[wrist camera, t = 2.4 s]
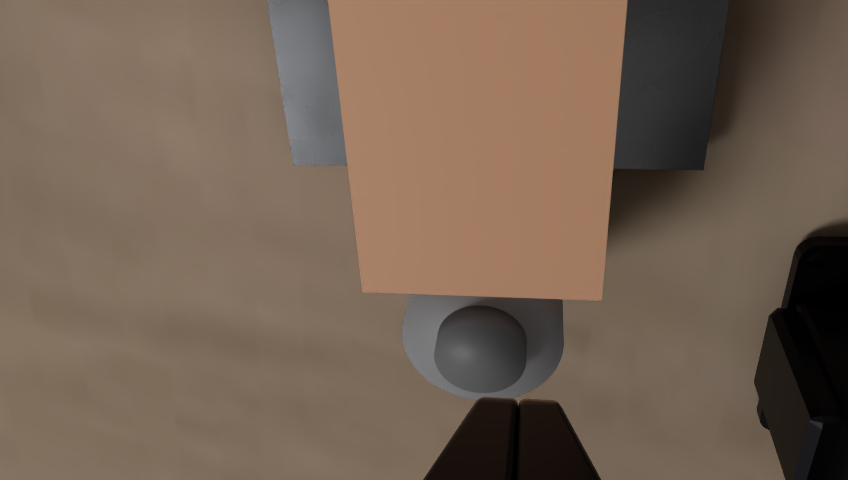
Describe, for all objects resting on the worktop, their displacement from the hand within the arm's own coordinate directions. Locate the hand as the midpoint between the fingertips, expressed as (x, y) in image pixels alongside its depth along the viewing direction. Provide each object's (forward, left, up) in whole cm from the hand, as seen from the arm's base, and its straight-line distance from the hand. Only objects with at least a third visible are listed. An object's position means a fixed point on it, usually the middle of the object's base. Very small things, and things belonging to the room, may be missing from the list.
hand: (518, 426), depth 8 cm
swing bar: (+1, -1, -12) cm, 12 cm away
